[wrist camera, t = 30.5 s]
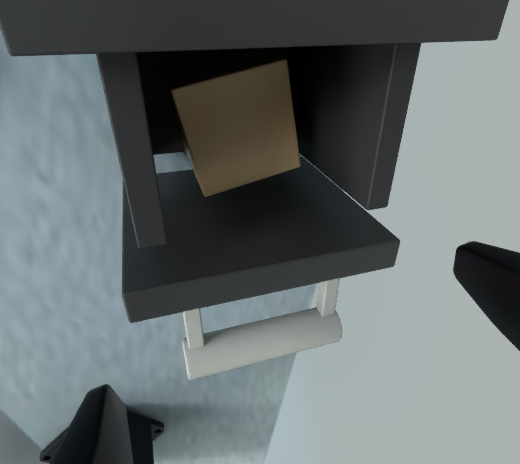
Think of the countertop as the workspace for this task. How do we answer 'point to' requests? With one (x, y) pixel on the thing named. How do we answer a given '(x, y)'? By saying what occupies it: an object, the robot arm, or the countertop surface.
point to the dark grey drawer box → (238, 24)
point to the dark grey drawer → (259, 199)
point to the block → (235, 118)
